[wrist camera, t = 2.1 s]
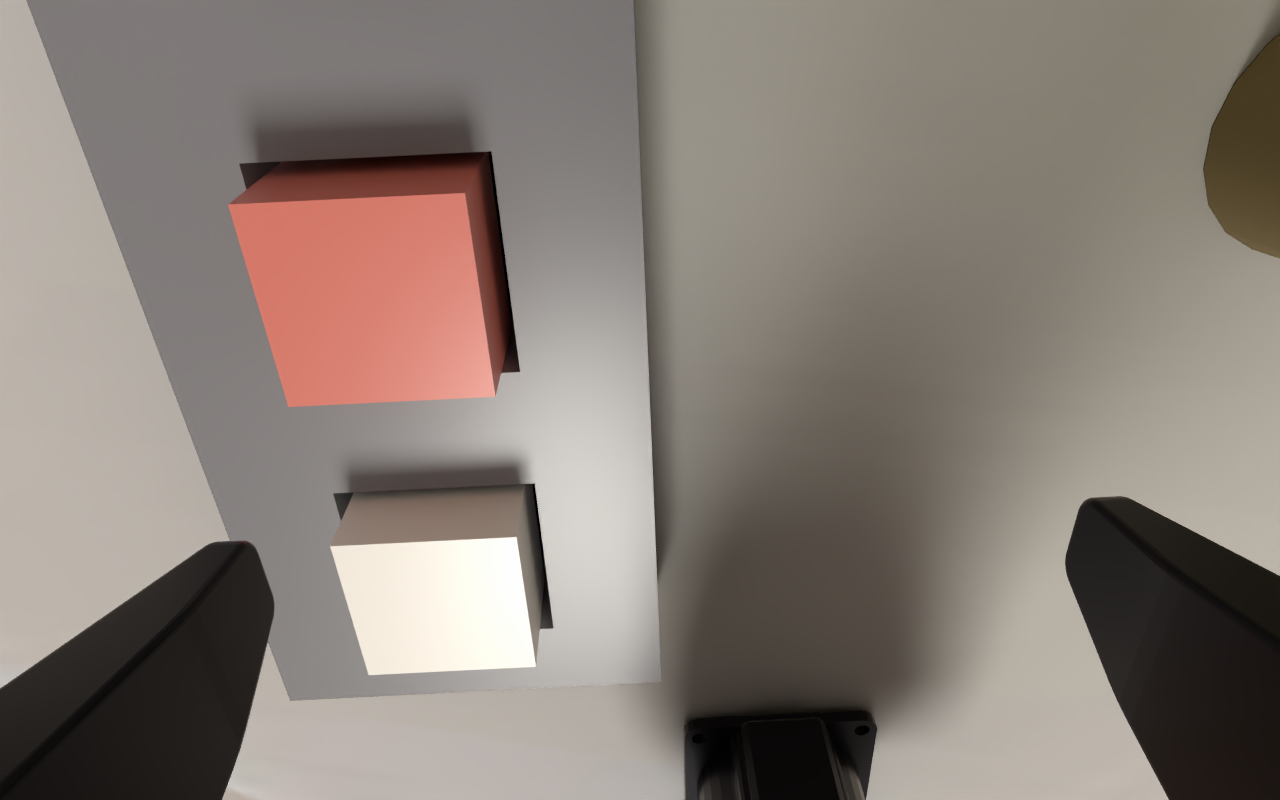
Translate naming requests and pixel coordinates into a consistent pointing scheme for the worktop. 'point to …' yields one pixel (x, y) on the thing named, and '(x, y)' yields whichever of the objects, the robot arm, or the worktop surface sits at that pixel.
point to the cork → (1249, 156)
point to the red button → (378, 277)
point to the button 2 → (443, 577)
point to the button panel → (407, 430)
